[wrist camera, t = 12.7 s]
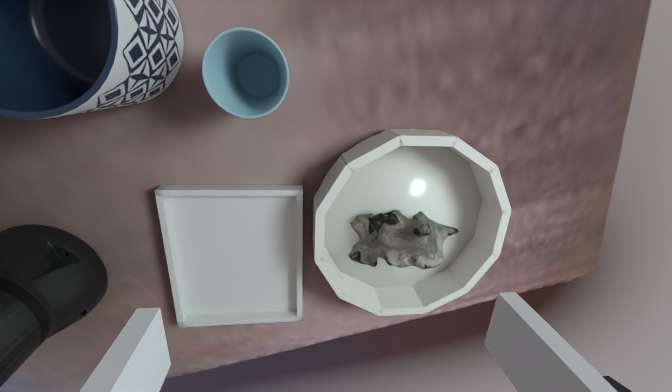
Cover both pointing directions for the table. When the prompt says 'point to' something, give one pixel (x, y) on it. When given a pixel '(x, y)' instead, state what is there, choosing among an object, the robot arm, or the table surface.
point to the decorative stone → (399, 240)
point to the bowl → (410, 217)
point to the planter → (85, 55)
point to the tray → (233, 252)
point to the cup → (245, 72)
